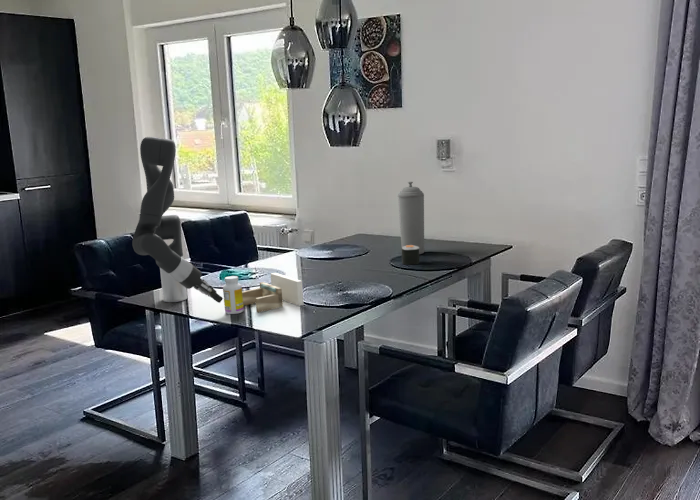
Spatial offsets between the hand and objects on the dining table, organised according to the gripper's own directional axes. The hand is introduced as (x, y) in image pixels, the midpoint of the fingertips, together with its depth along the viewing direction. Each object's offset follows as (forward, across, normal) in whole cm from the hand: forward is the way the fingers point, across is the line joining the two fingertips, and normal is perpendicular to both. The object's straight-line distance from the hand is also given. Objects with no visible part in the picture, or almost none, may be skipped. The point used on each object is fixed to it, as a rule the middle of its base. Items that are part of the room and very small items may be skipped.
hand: (220, 300), depth 240 cm
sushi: (+75, +15, -67) cm, 102 cm away
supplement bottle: (+8, 0, 0) cm, 8 cm away
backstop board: (+23, 0, -15) cm, 28 cm away
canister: (+86, +31, -78) cm, 120 cm away
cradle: (+15, 0, -8) cm, 17 cm away
